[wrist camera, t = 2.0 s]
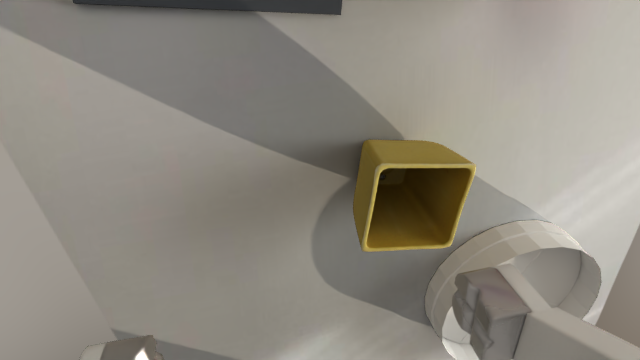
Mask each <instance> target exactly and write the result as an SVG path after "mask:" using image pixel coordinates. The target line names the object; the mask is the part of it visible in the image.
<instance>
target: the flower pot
mask: <svg viewBox="0 0 640 360" xmlns="http://www.w3.org/2000/svg"><path fill="white" fill-rule="evenodd" d="M475 170H476V164H474V163H472V162H470V161H469V160H467V159H465V158H464V157H462V156H460V155H459V154H457V153H456V152H454V151H452V150H450V149H449V148H447V147H445V146H443V145H441V144H438V143H434V142H429V141H417V140H366V141H364V143H363V146H362V151H361V159H360V165H359V171H358V177H357V183H356V188H355V194H354V202H353V213H354V219H355V224H356V229H357V233H358V237H359V241H360V245H361V249H362V251H365V252H376V251H392V250H411V249H439V248H445V247H449V246H451V244H452V242H453V239H454V236H455V232H456V229H457V225H458V222H459V219H460V215H461V212H462V209H463V206H464V203H465V200H466V197H467V195H468V192H469V189H470V186H471V183H472V181H473V178H474V175H475ZM381 175H385V178H384V179H380V176H381Z"/></svg>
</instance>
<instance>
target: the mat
mask: <svg viewBox="0 0 640 360" xmlns="http://www.w3.org/2000/svg"><path fill="white" fill-rule="evenodd" d="M73 3H74V4H96V5H120V6H144V7H168V8H191V9H215V10H239V11H262V12H286V13H310V14H334V15H341V9H342V0H73Z"/></svg>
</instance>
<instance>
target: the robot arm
mask: <svg viewBox="0 0 640 360" xmlns="http://www.w3.org/2000/svg"><path fill="white" fill-rule="evenodd" d="M454 284H455V285H456V287H457V289H458V290H457V291H456V292H455V293H454V294H453V298H452V307H453V312H454V315H455V318H456V320H457V322H458V324H459V326H460V328H461V329H462V330H464V331H465V332H467V333H469V334H470V335H471V337H470V345H471V346H472V348H473V350H474V352H475V353H476V355H477V357H478V358H479V360H511V359H513V360H640V348H639V347H637V346H635V345H633V344H631V343H628V342H627V341H625V340H623V339H620V338H618V337H616V336H614V335H612V334H610V333H608V332H606V331H604V330H602V329H600V328H598V327H596V326H594V325H592V324H590V323H588V322H586V321H584V320H582V319H580V318H578V317H576V316H574V315H572V314H570V313H568V312H566V311H564V310H562V309H560V308H558V307H554V308H551V307H550V306H549V305H548V304H547V302H546V301H545V300H544V299H543V298H542V297H541V296H540V294H539V293H538V292H537V291H536V290H535V289H534V288H533V287H532V285H531V284H530V283H529V282H528V281H527V280H526V279H525V277H524V276H523V275H522V274H521V273H520V272H519V271H518V269H517V268H516V267H515V266H514V265H512V264H510V263H509V264H504V265H499V266H494V267H487V268H483V269H478V270H473V271H468V272H464V273H459V274H457V276H456V277H455V283H454ZM156 345H157V343H156V341H155V339H154V337H153V335H147V336H141V337H136V338H130V339H124V340H118V341H112V342H107V343H102V344H97V345H91V346H87V347H86V348H85V350H84V351H83V352H82V354H81V356H80V359H79V360H164V358H163V355H162V354H161V353H159V352H156V351H155V350H156Z"/></svg>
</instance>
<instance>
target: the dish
mask: <svg viewBox="0 0 640 360" xmlns="http://www.w3.org/2000/svg"><path fill="white" fill-rule="evenodd" d="M509 263H510V264H512V265H514V266H515V267H516V268H517V269H518V271H519V272H520V273H521V274H522V275H523V276H524V277H525V279H526V280H527V281H528V282H529V283H530V284H531V285H532V287H533V288H534V289H535V290H536V291H537V292H538V293H539V294H540V296H541V297H542V298H543V299H544V300H545V301H546V302H547V304H548V305H549V306H550V307H551V308H554V307H558V308H560V309H562V310H564V311H566V312H568V313H570V314H572V315H574V316H576V317H578V318H580V319H582V318H583V317H584V316H585V315H586V314H587V313H588V312H589V310H590V308H591V307H592V305H593V303H594V302H595V300H596V298H597V296H598V293H599V289H600V286H601V283H602V282H601V271H600V268H599V266H598V264H597V263H596V261H595V260H594V258H593V257H592V256H591V255H589V254H588V253H587V252H586V251H585V250H583V249H582V248H581V246H580V245H579V243H578V242H577V241H576V240H575V239H574V238H572V237H571V236H570V235H569V234H568V233H567V232H566V231H564V230H563V229H561V228H559V227H558V226H556V225H555V224H553V223H548V222H543V221H539V220H527V221H515V222H511V223H507V224H504V225H500V226H497V227H493V228H491V229H489V230H487V231H485V232H483V233H481V234H479V235H477V236H475V237H473V238H471V239H470V240H469V241H467V242H466V243H465V244H463V245H462V246H460V247H459V248H458V249H456V250H455V251H454V252H453V253H452V254H451V255H450V256H449V257H448V258H447V259H446V260H445V261H444V262H443V263H442V264H441V265H440V266H439V268H438V269H437V271H436V273H435V274H434V276H433V277H432V279H431V281H430V282H429V285H428V289H427V292H426V296H425V312H426V314H427V316H428V318H429V320H430V322H431V324H432V326H433V328H434V330H435V332H436V334H437V336H438V337H440V338H441V340H442V342H443V344H444V346H445V348H446V350H447V352H448V353H449V354H450V355H451V356H453V357H454V358H455V359H457V360H479V358H478V357H477V355H476V353H475V352H474V350H473V348H472V346H471V345H470V337H471V335H470V334H469V333H467V332H465V331H464V330H462V329H461V328H460V326H459V324H458V322H457V320H456V318H455V315H454V312H453V307H452V298H453V294H454V293H455V292H456V291H457V290H458V289H457V287H456V285H455V284H454V283H455V277H456V276H457V274H459V273H464V272H468V271H473V270H478V269H483V268H487V267H494V266H499V265H504V264H509ZM511 360H513V359H511Z"/></svg>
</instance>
